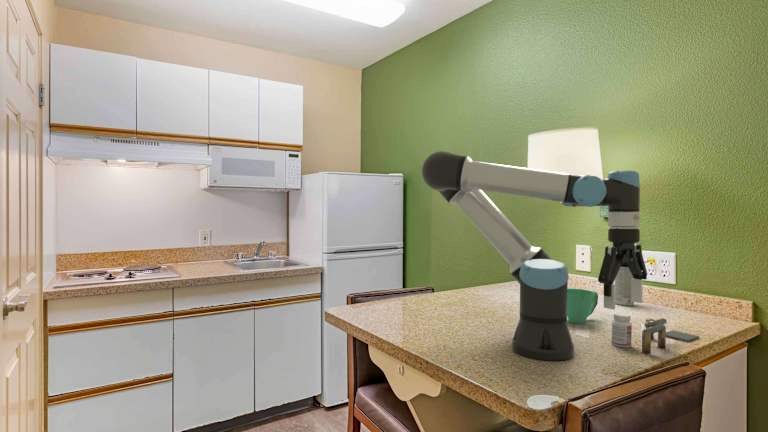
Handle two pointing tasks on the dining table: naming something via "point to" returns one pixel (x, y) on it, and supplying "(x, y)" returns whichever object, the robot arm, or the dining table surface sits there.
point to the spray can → (623, 286)
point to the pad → (681, 336)
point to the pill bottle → (621, 330)
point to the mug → (580, 304)
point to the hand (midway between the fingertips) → (623, 305)
